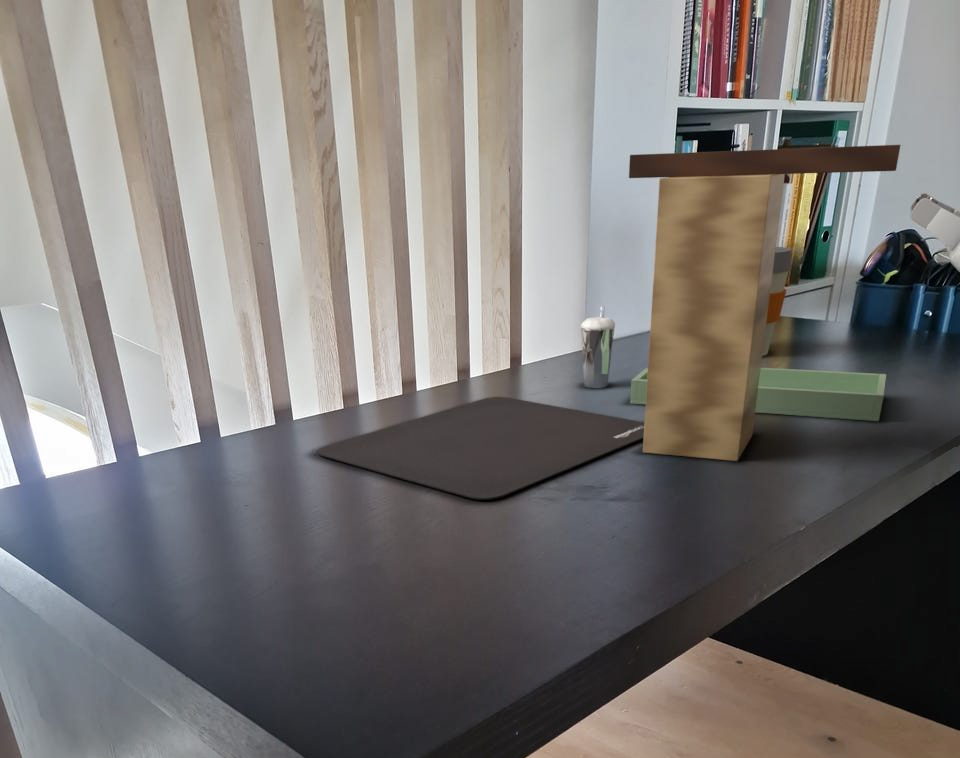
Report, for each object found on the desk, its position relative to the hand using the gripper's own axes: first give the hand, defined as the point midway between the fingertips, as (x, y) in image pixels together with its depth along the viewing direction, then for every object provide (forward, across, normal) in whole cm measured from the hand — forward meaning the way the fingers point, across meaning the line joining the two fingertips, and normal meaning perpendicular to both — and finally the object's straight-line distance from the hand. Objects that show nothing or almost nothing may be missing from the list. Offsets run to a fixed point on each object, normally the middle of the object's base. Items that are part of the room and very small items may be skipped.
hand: (915, 203), depth 76 cm
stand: (+3, 0, +29) cm, 29 cm away
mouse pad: (+22, +6, +40) cm, 46 cm away
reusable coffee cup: (+6, -52, +31) cm, 61 cm away
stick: (+14, 0, +5) cm, 14 cm away
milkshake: (+19, -24, +38) cm, 49 cm away
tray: (0, -21, +27) cm, 34 cm away
